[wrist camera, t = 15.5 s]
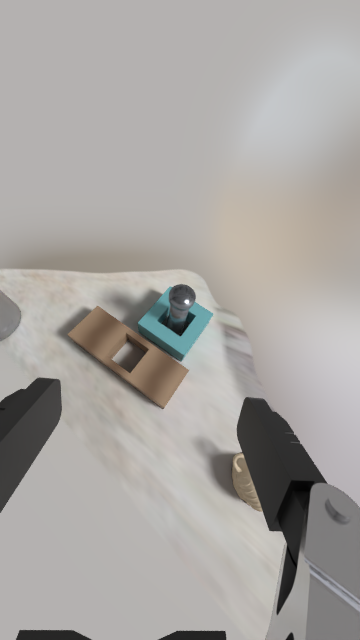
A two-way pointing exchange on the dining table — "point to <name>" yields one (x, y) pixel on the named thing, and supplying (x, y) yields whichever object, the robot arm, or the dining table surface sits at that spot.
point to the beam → (149, 374)
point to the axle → (179, 306)
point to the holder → (168, 338)
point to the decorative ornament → (244, 482)
